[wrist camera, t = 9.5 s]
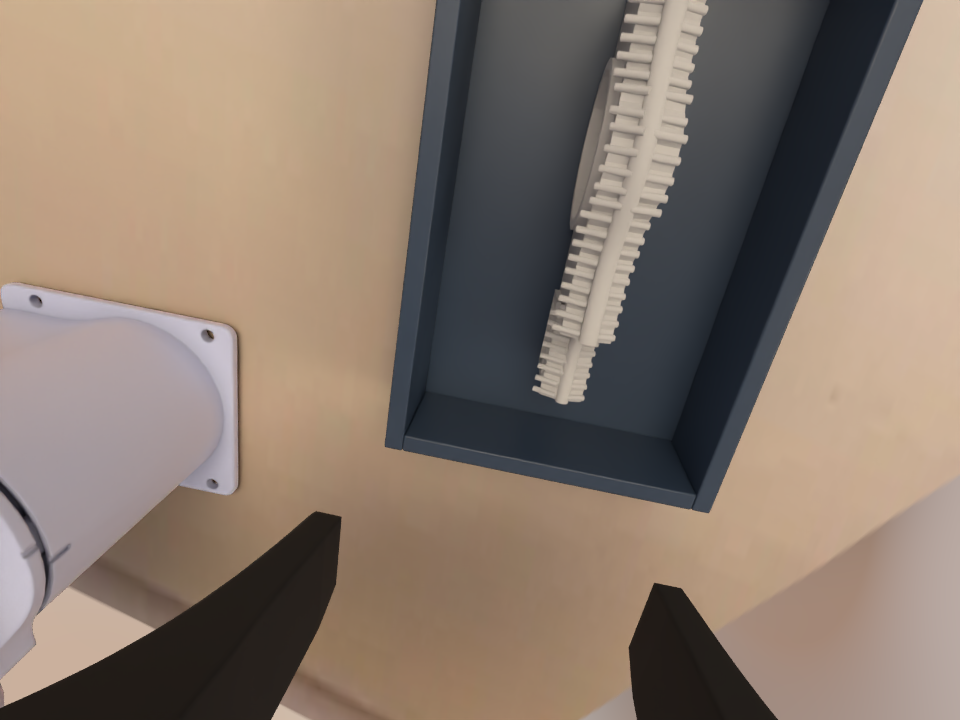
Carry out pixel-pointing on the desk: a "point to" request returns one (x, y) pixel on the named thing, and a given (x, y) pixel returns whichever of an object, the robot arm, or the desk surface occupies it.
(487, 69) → the tote
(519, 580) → the desk surface
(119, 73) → the desk surface
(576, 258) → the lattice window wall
